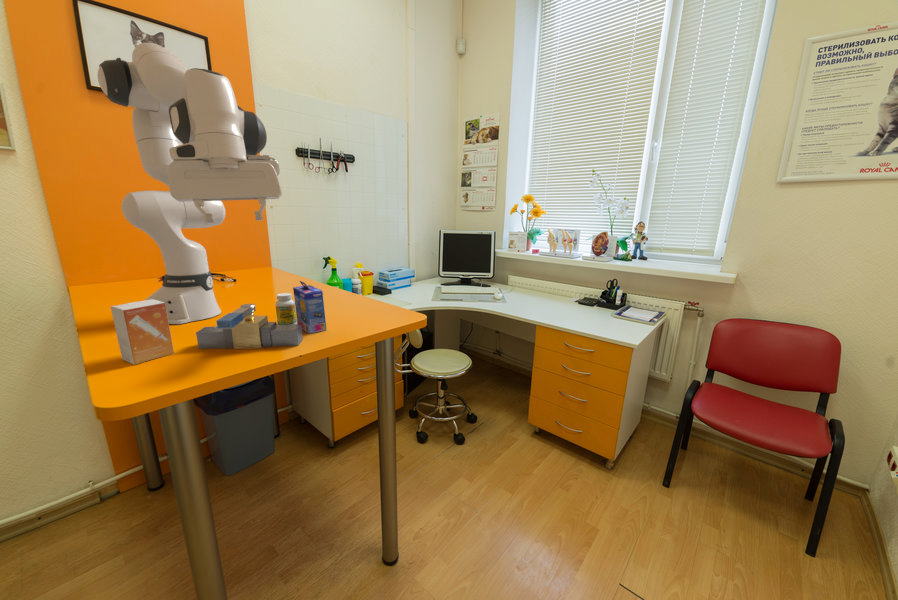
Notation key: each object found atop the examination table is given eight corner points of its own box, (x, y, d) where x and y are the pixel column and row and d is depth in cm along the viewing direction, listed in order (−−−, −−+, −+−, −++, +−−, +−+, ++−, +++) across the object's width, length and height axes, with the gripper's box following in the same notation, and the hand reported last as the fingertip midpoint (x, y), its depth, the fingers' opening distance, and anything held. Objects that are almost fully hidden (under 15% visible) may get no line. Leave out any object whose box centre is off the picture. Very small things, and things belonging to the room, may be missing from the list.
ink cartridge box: (295, 325, 108) (291, 279, 104) (313, 322, 111) (310, 277, 108) (308, 334, 101) (304, 284, 97) (327, 330, 104) (323, 282, 101)
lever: (244, 310, 92) (243, 303, 91) (257, 309, 92) (256, 303, 92) (217, 328, 78) (215, 320, 77) (232, 328, 78) (231, 320, 78)
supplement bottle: (294, 320, 112) (292, 291, 110) (298, 325, 108) (295, 295, 106) (276, 323, 109) (273, 293, 107) (279, 328, 105) (275, 297, 103)
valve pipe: (196, 350, 88) (190, 317, 86) (209, 341, 94) (204, 310, 92) (297, 347, 91) (294, 315, 89) (303, 338, 97) (301, 308, 95)
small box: (134, 365, 79) (122, 310, 76) (121, 359, 82) (109, 305, 79) (175, 353, 86) (165, 301, 83) (162, 348, 89) (152, 298, 86)
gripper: (276, 159, 81) (286, 220, 83) (167, 157, 72) (181, 225, 75) (277, 151, 76) (288, 216, 78) (158, 148, 67) (174, 222, 69)
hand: (235, 221), depth 76 cm, fingers open, 8 cm apart
